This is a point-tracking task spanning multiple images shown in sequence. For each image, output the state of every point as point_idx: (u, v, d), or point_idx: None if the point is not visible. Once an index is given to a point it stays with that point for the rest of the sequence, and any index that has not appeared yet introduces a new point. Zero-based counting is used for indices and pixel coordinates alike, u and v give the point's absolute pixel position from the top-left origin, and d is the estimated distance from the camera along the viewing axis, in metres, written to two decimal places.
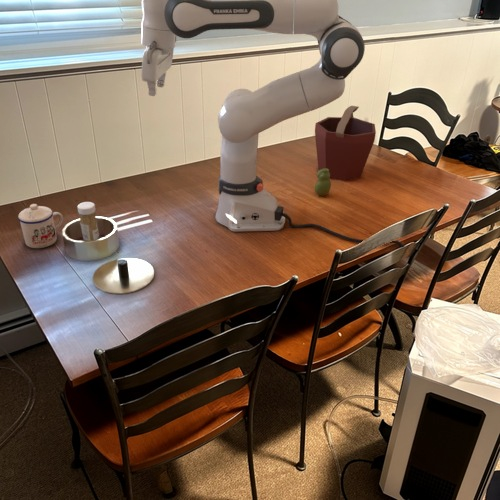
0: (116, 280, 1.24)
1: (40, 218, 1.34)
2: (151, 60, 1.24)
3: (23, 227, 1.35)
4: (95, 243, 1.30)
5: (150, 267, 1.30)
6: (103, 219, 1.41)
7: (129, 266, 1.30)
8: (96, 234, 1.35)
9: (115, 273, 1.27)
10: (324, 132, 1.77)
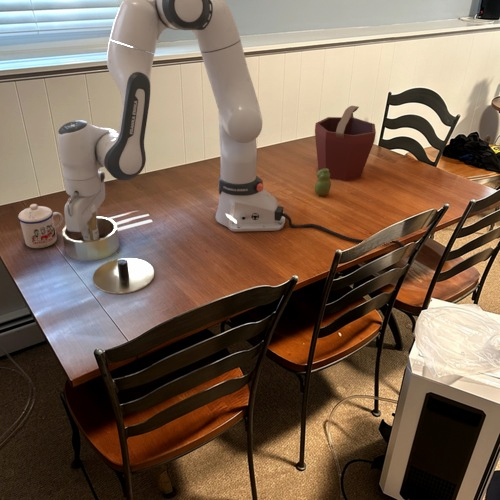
0: (116, 280, 1.24)
1: (40, 218, 1.34)
2: (73, 213, 1.22)
3: (23, 227, 1.35)
4: (95, 243, 1.30)
5: (150, 267, 1.30)
6: (103, 219, 1.41)
7: (129, 266, 1.30)
8: (96, 234, 1.35)
9: (115, 273, 1.27)
10: (324, 132, 1.77)
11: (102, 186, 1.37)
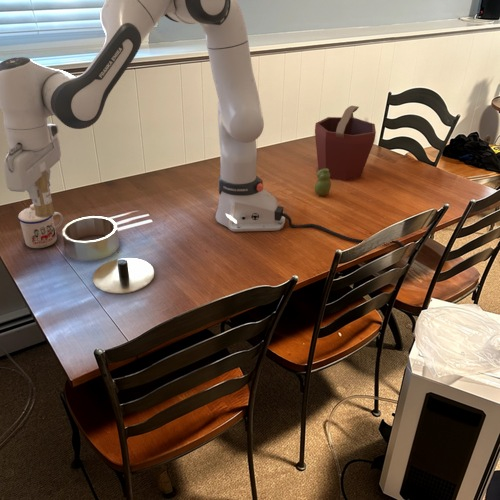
0: (116, 280, 1.24)
1: (40, 218, 1.34)
2: (14, 168, 1.02)
3: (23, 227, 1.35)
4: (95, 243, 1.30)
5: (150, 267, 1.30)
6: (103, 219, 1.41)
7: (129, 266, 1.30)
8: (48, 197, 1.16)
9: (115, 273, 1.27)
10: (324, 132, 1.77)
11: (56, 142, 1.17)
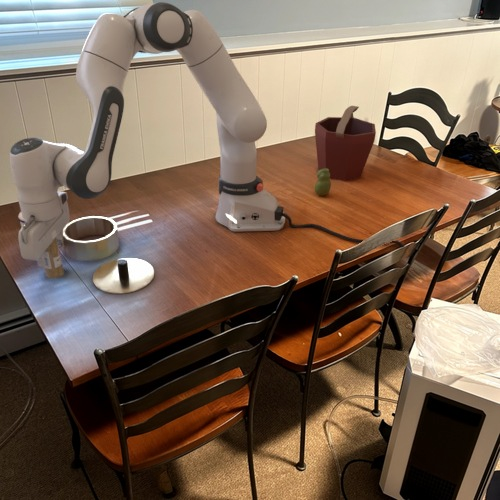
0: (116, 280, 1.24)
1: None
2: (28, 240, 1.11)
3: None
4: (95, 243, 1.30)
5: (150, 267, 1.30)
6: (103, 219, 1.41)
7: (129, 266, 1.30)
8: (58, 261, 1.24)
9: (115, 273, 1.27)
10: (324, 132, 1.77)
11: (65, 207, 1.26)
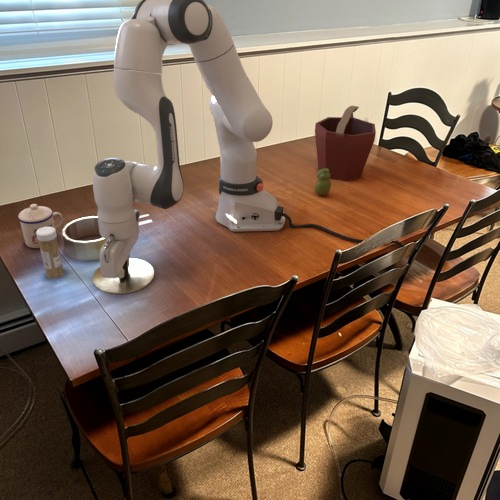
0: (116, 280, 1.24)
1: (40, 218, 1.34)
2: (109, 259, 1.13)
3: (23, 227, 1.35)
4: (95, 243, 1.30)
5: (150, 267, 1.30)
6: None
7: (129, 266, 1.30)
8: (58, 261, 1.24)
9: None
10: (324, 132, 1.77)
11: (136, 225, 1.28)
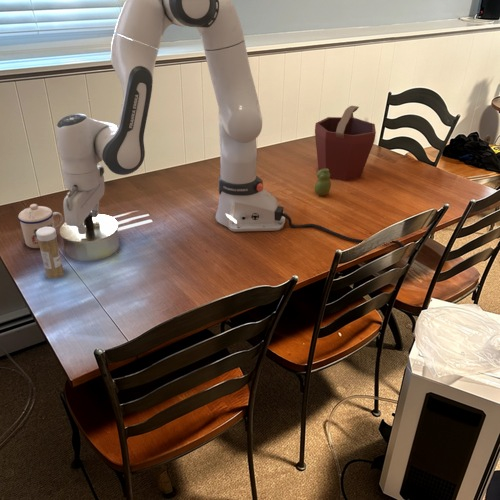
0: None
1: (40, 218, 1.34)
2: (72, 207, 1.21)
3: (23, 227, 1.35)
4: (95, 243, 1.30)
5: (114, 221, 1.38)
6: None
7: (95, 220, 1.38)
8: (58, 261, 1.24)
9: None
10: (324, 132, 1.77)
11: (101, 180, 1.36)
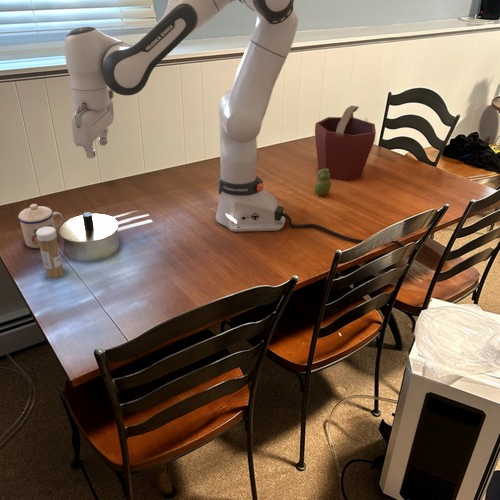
0: (81, 232, 1.33)
1: (40, 218, 1.34)
2: (81, 124, 1.16)
3: (23, 227, 1.35)
4: (95, 243, 1.30)
5: (114, 221, 1.38)
6: None
7: (95, 220, 1.38)
8: (58, 261, 1.24)
9: (81, 226, 1.36)
10: (324, 132, 1.77)
11: (110, 106, 1.31)
